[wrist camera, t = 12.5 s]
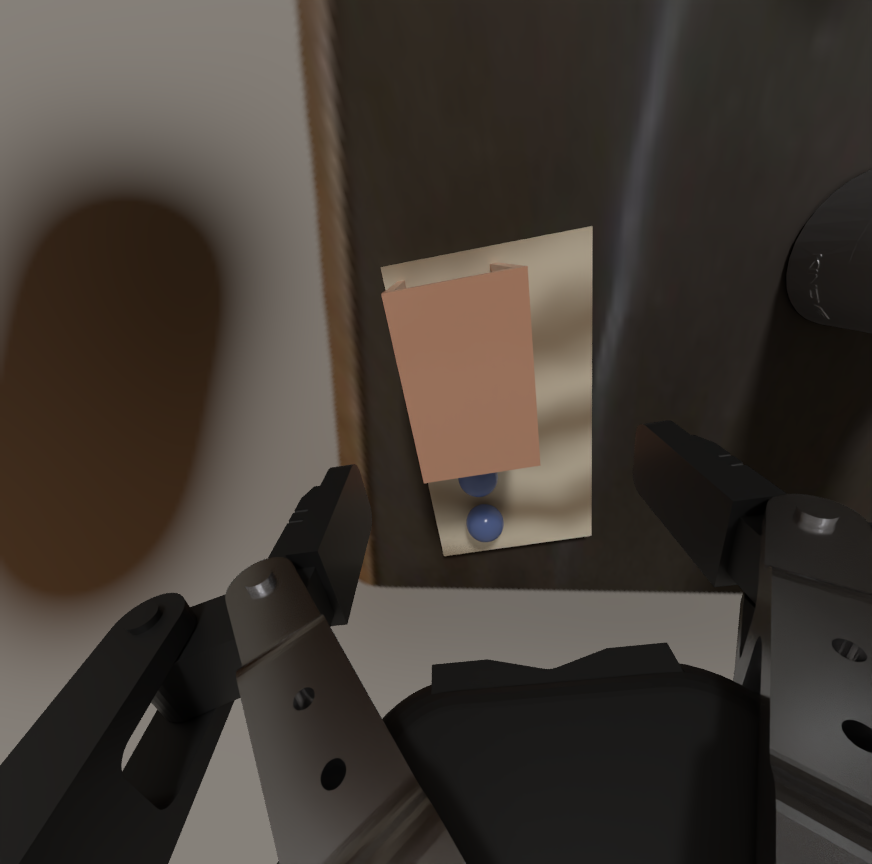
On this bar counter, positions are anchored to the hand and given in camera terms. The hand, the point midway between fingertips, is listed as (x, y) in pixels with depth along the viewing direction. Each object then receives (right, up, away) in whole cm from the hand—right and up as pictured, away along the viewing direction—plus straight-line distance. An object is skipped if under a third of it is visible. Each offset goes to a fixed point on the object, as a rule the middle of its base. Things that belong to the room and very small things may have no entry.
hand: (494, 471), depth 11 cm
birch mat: (+3, +2, +18) cm, 18 cm away
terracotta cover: (0, +7, +15) cm, 16 cm away
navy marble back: (+2, -6, +19) cm, 20 cm away
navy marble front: (+1, -2, +17) cm, 17 cm away
